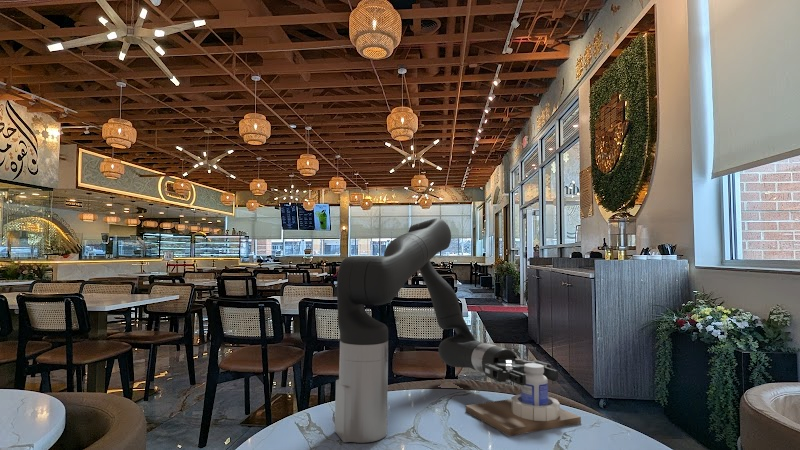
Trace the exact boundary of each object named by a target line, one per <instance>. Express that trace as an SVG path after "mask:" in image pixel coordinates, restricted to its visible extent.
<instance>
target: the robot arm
mask: <svg viewBox="0 0 800 450" xmlns="http://www.w3.org/2000/svg"><path fill="white" fill-rule="evenodd" d="M451 242H452V231H451V229H450V226H449V224H448V223H447V222H446V221H445V220H443V219H442V218H437V217H436V218H432V219H428V220H425V221H421V222H419V223H415V224H413V225H410V227H409V229H408V231H407V232H405V233H404V234H401V235H399V236H397V237H395V238H394V239H393V240H391V241H390V242H389V243H388V244H387V246H386V248H385V250H384V254H383V256H361V255H360V256H347V257H345V258H344V259H343V260H342V261H341V263H340V264H339V267H338V271H337V279H336V295H337V296H336V298H337V299H336V300H337V325H338V330H339V361H338V362H339V364H338V365H339V367H338V369H339V370H338V379H336V380H335V397H334V398H335V399H334V400H335V402H334V405H335V406H334V407H335V409H334V432H335V433H336V435H337V436H338V437H339V439H340V440H341V441H342V442H343V443H358V444H359V443H362V444H364V443H372V442H377V441H379V440H382V439H383V438H385V437H386V436H387V433H388V385H389V384H388V379H389V377H388V376H389V328H388V326H387V325H386V324H385V323H383V322H381V321H379V320H377V319H376V318H374V317H372V316H371V315H370V314H369V313H367V311H366V309H365V305H367V306H383V305H386V304H389V303H391V302H392V301H393V299H394V298H395V297H396V296H397V295H398V293H399V292H400V290H401V289H402V288H403V286H404V285H405V284H406V283H407V281H408V280H409V279H410V278H411V277H413V276H414V275H415V274H416V273H417V272H420V275H421V276H422V279H423V281H424V284H425V285H426V288H427V290H428V293H429V296H430V298H431V302H432V306H433V310H434V313H435V317H436V322H437V325H438V326H439V328H440V329H442V330H451V329H453V330H454V332H455V333H456V334H455V335H453V336H450V337H447V338H445V339H443V340H442V341H441V342H440V343H439V345H438V350H437V351H438V355H439V358H440V359H441V360H442V362H444V363H445V364H446V366H447V365H448V366H450V367H455V368H463V369H464V368H466V369H469V368H470V369H472V370H473V371H477V372H478V373H480V374H481V375H484V376H485V377H488V378H490V379H492V380H494V381H495V382H499V383H511V382H513V383H515V384H517V385H520V386H521V385H526V376H525V372H524V364H527V363H536V364H541V365H543V366H544V373H543V375H544V376H546V378H547V380H548V381H552V382H559V371H558V370H557V369H554V368H552V364H551V363H547V362H545V361H544V362H543V361H540V360H538V359H534V358H532V359H531V358H530V360H524V359H523V358H518V356H517V354H516V353H515V352H514V351H513V350H511V349H509V348H507V347H502V346H499V345H495V344H492V343H485V342H481V341H478V340H476V339H475V337H474V335H473V334H472V332H471V330H470V328H469V326H468V325H467V322H466V320H465V319H464V317H463V313H462V310H461V306H460V302H459V299H458V295H457V294H456V291H455V290H454V289H453V287H452V286H451V285H450V284H449V283H448V282H447V281H446V280H445V279H444V278H443V276H441V274H440V273H438V271H437V270H436V269H435V268H434V266H433V263H431V260H432V259H433V258H434V257H435V256H436V255H437V254H439V253H440V252H442V251H446V250H447V249H448V248H449V247H450V245H451Z"/></svg>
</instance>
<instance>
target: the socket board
mask: <svg viewBox="0 0 800 450" xmlns="http://www.w3.org/2000/svg"><path fill="white" fill-rule="evenodd" d="M465 412H467V413H468V414H470V415H472V416H474V417H475V418H476V419H479V420H480V421H482V422H484V423H486V424H487V425H489V426H490V427H492V428H494V429H496V430H498V431H499V432H501V433H503V434H505V435H506V436H508V437H513V436H517V435H522V434H528V433H534V432H539V431H545V430H550V429H555V428H562V427H567V426H573V425H578V424H581V423H582V417H581V416H579V415H577V414H575V413H573V412H570V411H569V410H568V411H567V410H565V409H563V408H561V407H560V416H559V417H558V418H557V419H556V420H550V421H534V420H529V419H525V418H522V417H519V416H517V415H515V414H513V412H512V409H511V398H508V399H507V398H506V399H503V400H502V399H501V400H493V401H487V402H480V403H473V404H465Z"/></svg>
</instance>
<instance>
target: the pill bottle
mask: <svg viewBox="0 0 800 450" xmlns="http://www.w3.org/2000/svg"><path fill="white" fill-rule="evenodd" d="M524 372H525V376H526V385H520V391H521V392H520V394H521V402H522V403H524V404H528V405H533V406H547V405H548V396H549V387H548V386H549V383H548V381H549V379H547V378H546V376H544V375H543V373H544V366H543V365H541V364H536V363H527V364H524Z"/></svg>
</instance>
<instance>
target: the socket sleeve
mask: <svg viewBox="0 0 800 450" xmlns="http://www.w3.org/2000/svg"><path fill="white" fill-rule="evenodd" d="M510 399H511V409H512V412H513V414H515V415H517V416H519V417H522V418H525V419H529V420H534V421H550V420H556V419H557V418H558V417H559V416H560V408H561V404H560V402H559V400H558V399H556V398H554V397H552V396H549V395H548V405H547V406H533V405H528V404H524V403H522V402H521V393H520V394H519V393H518V394H514V395H513V396H512V397H511V398H510Z"/></svg>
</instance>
